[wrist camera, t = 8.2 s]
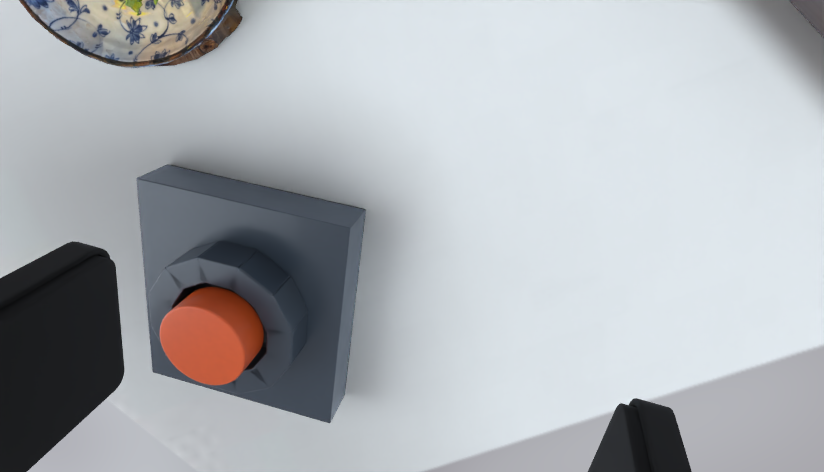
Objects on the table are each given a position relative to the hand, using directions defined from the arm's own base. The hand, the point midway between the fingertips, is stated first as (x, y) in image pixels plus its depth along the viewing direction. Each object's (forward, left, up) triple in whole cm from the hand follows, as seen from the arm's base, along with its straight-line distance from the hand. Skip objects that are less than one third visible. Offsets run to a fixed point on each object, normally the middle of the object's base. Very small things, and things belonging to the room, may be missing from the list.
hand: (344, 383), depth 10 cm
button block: (-9, +9, -15) cm, 19 cm away
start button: (-9, +9, -11) cm, 16 cm away
